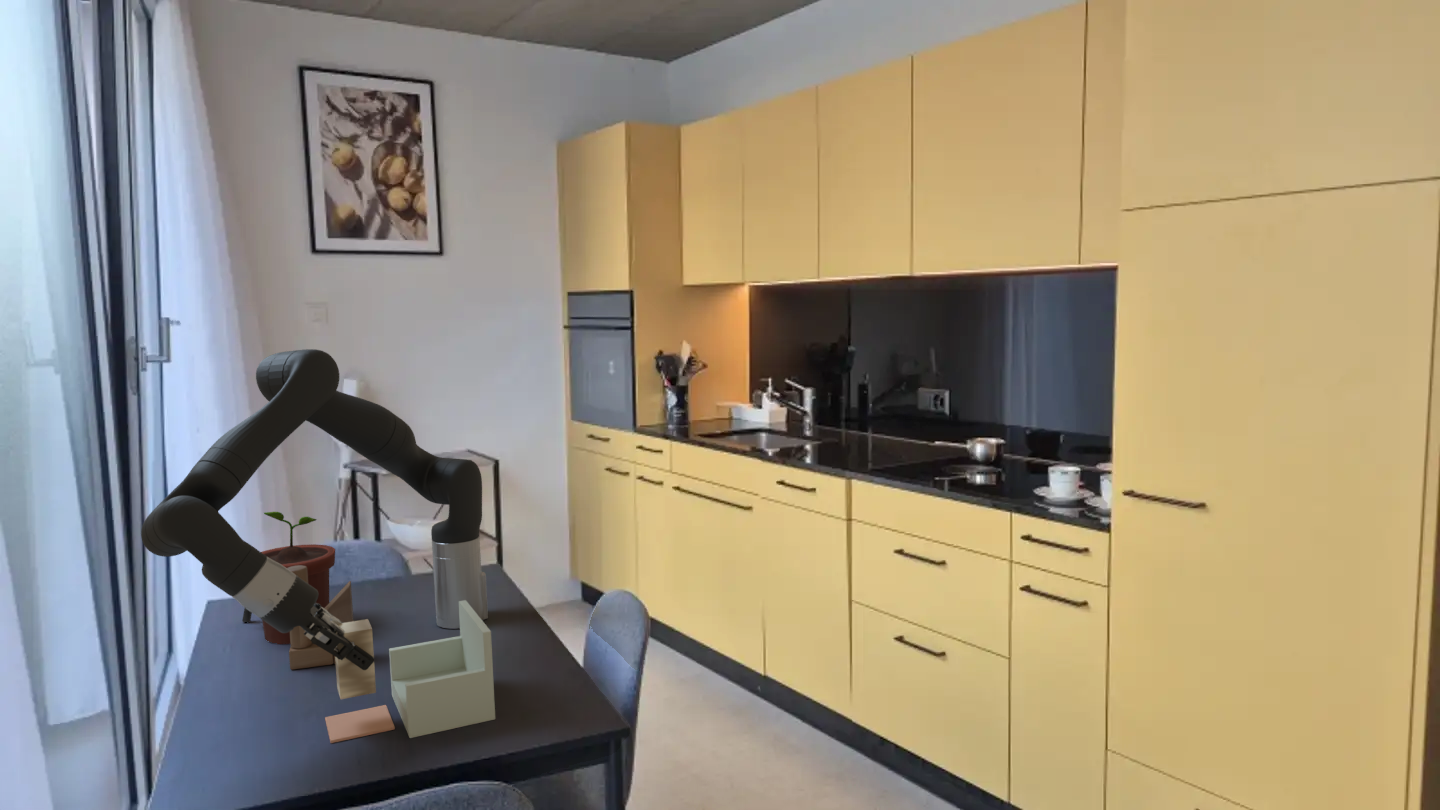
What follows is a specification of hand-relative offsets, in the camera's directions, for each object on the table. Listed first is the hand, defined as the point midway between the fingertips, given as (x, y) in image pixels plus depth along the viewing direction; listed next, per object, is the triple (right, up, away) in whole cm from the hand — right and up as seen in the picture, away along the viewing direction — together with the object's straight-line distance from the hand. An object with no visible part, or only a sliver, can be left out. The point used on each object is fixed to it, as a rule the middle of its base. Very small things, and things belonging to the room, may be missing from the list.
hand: (367, 658), depth 144 cm
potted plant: (-31, -6, +44) cm, 54 cm away
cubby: (+10, -9, +6) cm, 15 cm away
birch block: (-2, -5, 0) cm, 5 cm away
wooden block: (-17, -8, +26) cm, 32 cm away
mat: (-1, -10, 0) cm, 10 cm away
